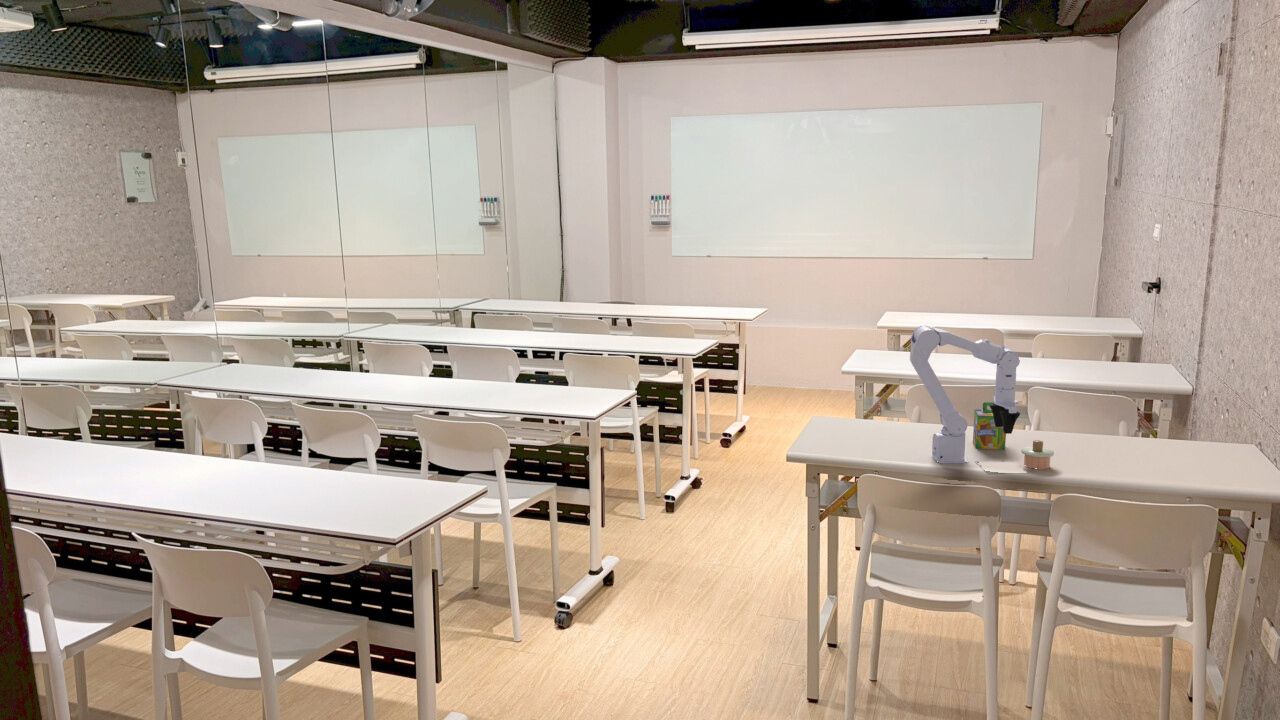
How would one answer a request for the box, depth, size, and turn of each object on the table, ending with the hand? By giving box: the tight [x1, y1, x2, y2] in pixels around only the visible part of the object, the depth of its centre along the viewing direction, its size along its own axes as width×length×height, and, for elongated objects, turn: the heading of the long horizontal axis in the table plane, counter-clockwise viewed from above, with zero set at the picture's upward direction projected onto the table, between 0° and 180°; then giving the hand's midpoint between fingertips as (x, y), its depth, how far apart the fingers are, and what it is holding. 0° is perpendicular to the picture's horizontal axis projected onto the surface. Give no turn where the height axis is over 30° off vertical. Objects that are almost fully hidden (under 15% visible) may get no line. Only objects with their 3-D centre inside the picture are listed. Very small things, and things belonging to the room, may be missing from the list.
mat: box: [976, 461, 1007, 475], centre depth 261 cm, size 12×12×1 cm
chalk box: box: [972, 401, 1007, 451], centre depth 282 cm, size 9×9×15 cm
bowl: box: [1023, 454, 1051, 470], centre depth 261 cm, size 7×7×4 cm
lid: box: [1020, 439, 1055, 458], centre depth 260 cm, size 9×9×4 cm
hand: (1003, 429), depth 267 cm, fingers open, 7 cm apart
